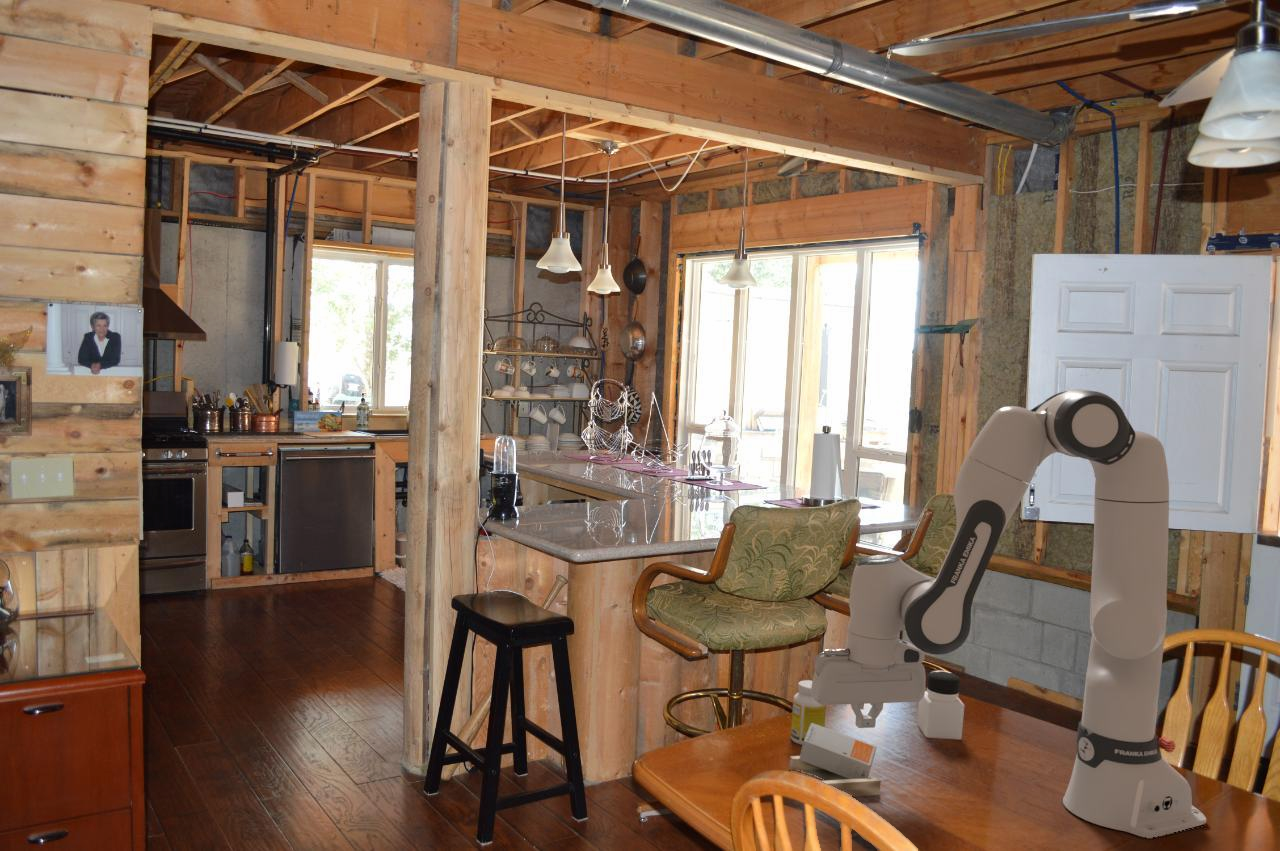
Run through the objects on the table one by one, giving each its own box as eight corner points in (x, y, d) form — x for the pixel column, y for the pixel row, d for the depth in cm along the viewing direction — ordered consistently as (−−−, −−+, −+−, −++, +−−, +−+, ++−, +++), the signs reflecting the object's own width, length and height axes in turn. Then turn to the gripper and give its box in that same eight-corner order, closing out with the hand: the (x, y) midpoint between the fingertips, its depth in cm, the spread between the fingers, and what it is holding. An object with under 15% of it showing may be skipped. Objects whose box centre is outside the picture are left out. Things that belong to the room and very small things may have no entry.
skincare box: (871, 766, 174) (803, 741, 177) (865, 785, 175) (798, 760, 179) (877, 745, 179) (811, 721, 183) (871, 764, 181) (806, 740, 184)
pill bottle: (828, 740, 195) (832, 683, 195) (815, 750, 190) (820, 692, 189) (798, 731, 199) (802, 676, 198) (785, 741, 194) (789, 684, 193)
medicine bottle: (962, 740, 200) (967, 680, 199) (925, 738, 200) (931, 678, 199) (951, 726, 207) (957, 668, 206) (916, 724, 207) (921, 666, 206)
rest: (848, 766, 183) (849, 753, 183) (879, 794, 172) (880, 780, 172) (789, 770, 180) (790, 756, 180) (816, 798, 169) (817, 784, 169)
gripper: (824, 655, 170) (817, 736, 171) (933, 653, 175) (926, 731, 177) (808, 644, 176) (802, 722, 177) (914, 642, 182) (907, 717, 183)
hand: (865, 726), depth 177 cm, fingers closed
